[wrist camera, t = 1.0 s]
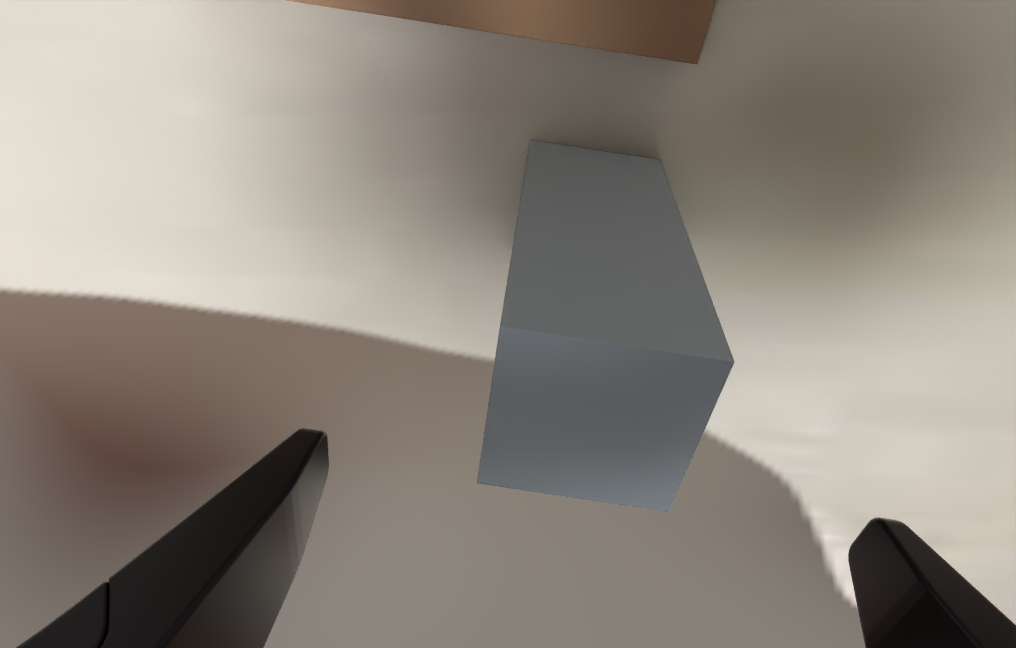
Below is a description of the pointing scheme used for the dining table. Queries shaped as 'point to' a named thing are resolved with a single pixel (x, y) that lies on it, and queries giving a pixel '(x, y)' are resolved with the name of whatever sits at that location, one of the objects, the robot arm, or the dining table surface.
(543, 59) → the dining table surface
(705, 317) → the peg
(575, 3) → the socket block
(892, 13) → the dining table surface
